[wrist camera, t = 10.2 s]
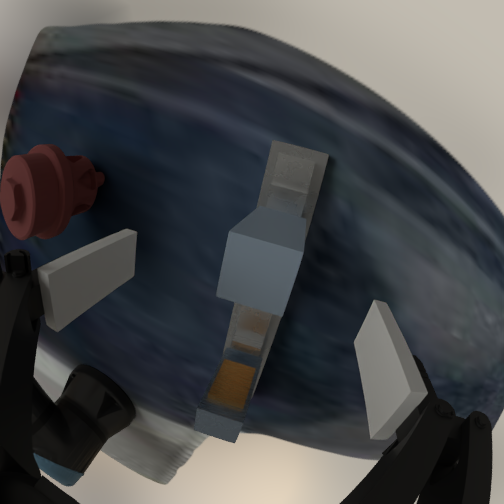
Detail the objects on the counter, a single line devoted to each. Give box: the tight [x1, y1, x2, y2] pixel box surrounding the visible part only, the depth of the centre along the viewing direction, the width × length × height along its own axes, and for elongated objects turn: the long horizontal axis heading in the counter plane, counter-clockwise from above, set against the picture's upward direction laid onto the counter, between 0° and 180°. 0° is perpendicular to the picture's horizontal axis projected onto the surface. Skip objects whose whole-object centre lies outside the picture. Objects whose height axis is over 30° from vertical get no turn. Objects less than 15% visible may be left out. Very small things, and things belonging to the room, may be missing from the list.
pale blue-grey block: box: [216, 206, 306, 317], centre depth 19 cm, size 5×4×9 cm
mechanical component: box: [0, 144, 105, 240], centre depth 23 cm, size 12×10×10 cm
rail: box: [194, 140, 329, 443], centre depth 23 cm, size 30×5×12 cm, turn 167°
